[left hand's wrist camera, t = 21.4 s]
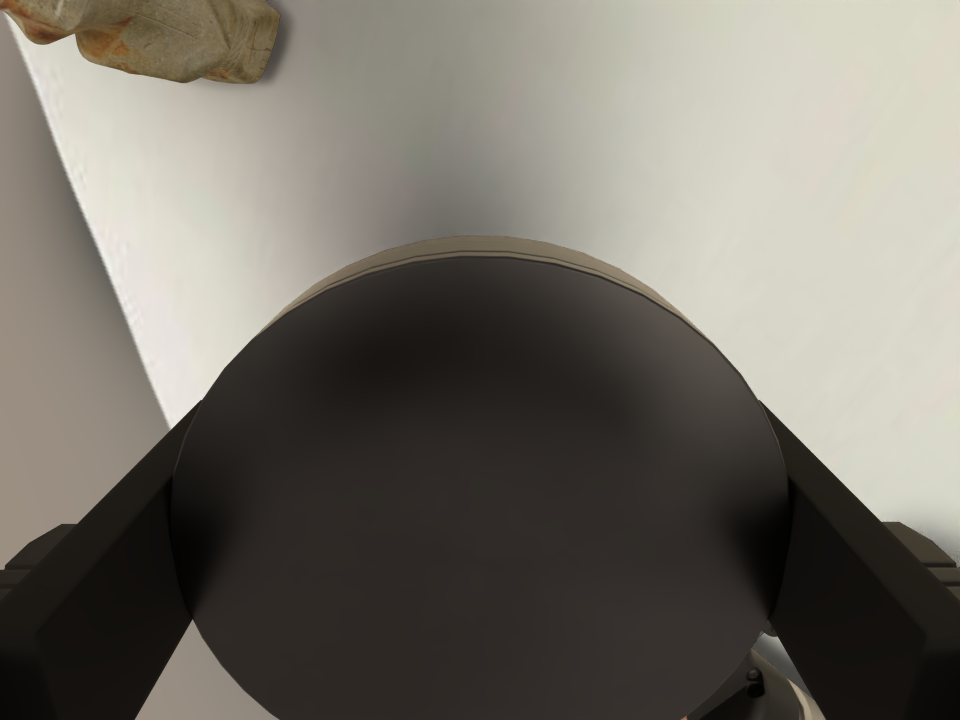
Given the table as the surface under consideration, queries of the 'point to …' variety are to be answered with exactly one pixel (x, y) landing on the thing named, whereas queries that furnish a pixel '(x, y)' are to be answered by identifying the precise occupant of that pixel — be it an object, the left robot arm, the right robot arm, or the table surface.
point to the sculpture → (159, 34)
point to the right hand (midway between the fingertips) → (485, 515)
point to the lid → (480, 496)
